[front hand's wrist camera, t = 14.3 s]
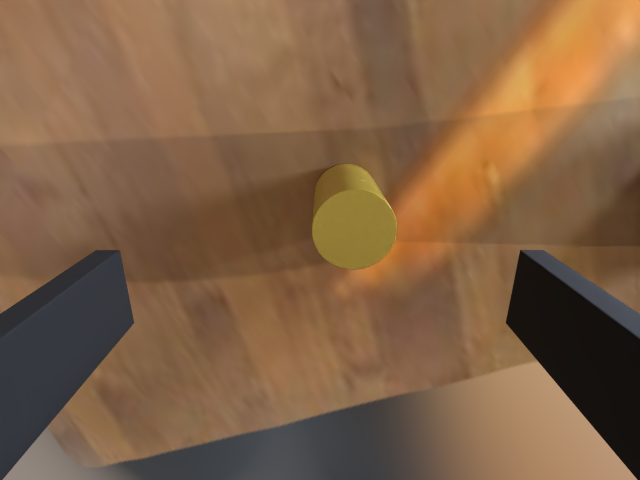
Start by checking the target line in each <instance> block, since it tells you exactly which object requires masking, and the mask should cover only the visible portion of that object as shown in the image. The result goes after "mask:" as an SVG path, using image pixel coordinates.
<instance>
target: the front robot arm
mask: <svg viewBox="0 0 640 480" xmlns="http://www.w3.org/2000/svg"><path fill="white" fill-rule="evenodd" d="M133 324H134V320H133V315H132V310H131V305H130V300H129V295H128V290H127V285H126V280H125V275H124V269H123V264H122V259H121V254H120V250H96V251H94V252H93V253H91V254H90V255H88V256H87V257H85V258H84V259H82V260H81V261H79V262H78V263H76V264H75V265H73V266H72V267H70V268H69V269H67V270H66V271H64V272H63V273H61V274H60V275H58V276H57V277H55V278H54V279H52V280H51V281H49V282H48V283H46V284H45V285H43V286H42V287H40V288H39V289H37V290H36V291H34V292H33V293H31V294H30V295H28V296H27V297H25V298H24V299H22V300H21V301H19V302H18V303H16V304H15V305H13V306H12V307H10V308H9V309H7V310H6V311H4V312H3V313H1V314H0V480H2V479H3V478H4V477H5V476H6V475H7V474H8V472H9V471H10V470H11V469H12V468H13V466H14V465H15V464H16V463H17V462H18V460H19V459H20V458H21V457H22V456H23V454H24V453H25V452H26V451H27V450H28V449H29V447H30V446H31V445H32V444H33V443H34V441H35V440H36V439H37V438H38V437H39V435H40V434H41V433H42V432H43V431H44V429H45V428H46V427H47V426H48V425H49V424H50V422H51V421H52V420H53V419H54V418H55V416H56V415H57V414H58V413H59V412H60V410H61V409H62V408H63V407H64V406H65V404H66V403H67V402H68V401H69V400H70V399H71V397H72V396H73V395H74V394H75V393H76V391H77V390H78V389H79V388H80V387H81V385H82V384H83V383H84V382H85V381H86V379H87V378H88V377H89V376H90V375H91V374H92V372H93V371H94V370H95V369H96V368H97V366H98V365H99V364H100V363H101V362H102V360H103V359H104V358H105V357H106V356H107V354H108V353H109V352H110V351H111V350H112V349H113V347H114V346H115V345H116V344H117V343H118V341H119V340H120V339H121V338H122V337H123V335H124V334H125V333H126V332H127V331H128V329H129V328H130V327H131V326H132V325H133ZM506 324H507V325H508V326H509V327H510V328H511V329H512V331H513V332H514V333H515V334H516V335H517V337H518V338H519V339H520V340H521V341H522V343H523V344H524V345H525V346H526V347H527V349H528V350H529V351H530V352H531V353H532V354H533V356H534V357H535V358H536V359H537V360H538V362H539V363H540V364H541V365H542V366H543V368H544V369H545V370H546V371H547V372H548V374H549V375H550V376H551V377H552V378H553V379H554V381H555V382H556V383H557V384H558V385H559V387H560V388H561V389H562V390H563V391H564V393H565V394H566V395H567V396H568V397H569V398H570V400H571V401H572V402H573V403H574V404H575V406H576V407H577V408H578V409H579V410H580V412H581V413H582V414H583V415H584V416H585V418H586V419H587V420H588V421H589V422H590V423H591V425H592V426H593V427H594V428H595V429H596V431H597V432H598V433H599V434H600V435H601V437H602V438H603V439H604V440H605V441H606V443H607V444H608V445H609V446H610V447H611V449H612V450H613V451H614V452H615V453H616V455H617V456H618V457H619V458H620V459H621V460H622V462H623V463H624V464H625V465H626V466H627V468H628V469H629V470H630V471H631V472H632V474H633V475H634V476H635V477H636V478H637V480H640V314H639V313H637V312H636V311H634V310H633V309H631V308H630V307H628V306H627V305H625V304H624V303H622V302H621V301H619V300H618V299H616V298H615V297H613V296H612V295H610V294H609V293H607V292H606V291H604V290H603V289H601V288H600V287H598V286H597V285H595V284H594V283H592V282H591V281H589V280H588V279H586V278H585V277H583V276H582V275H580V274H579V273H577V272H576V271H574V270H573V269H571V268H570V267H568V266H567V265H565V264H564V263H562V262H561V261H559V260H558V259H556V258H555V257H553V256H552V255H550V254H549V253H547V252H546V251H544V250H520V254H519V259H518V264H517V269H516V275H515V280H514V285H513V290H512V295H511V300H510V305H509V310H508V315H507V320H506Z"/></svg>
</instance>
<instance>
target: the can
mask: <svg viewBox="0 0 640 480" xmlns="http://www.w3.org/2000/svg"><path fill="white" fill-rule="evenodd" d="M396 234H397V222H396V218H395V215H394V212H393V210H392V209H391V207H390V205H389V204H388V202H387V201H386V199H385V197H384V196H383V194H382V193H381V191H380V189H379V188H378V186H377V185H376V183H375V182H374V180H373V178H372V177H371V176H370V174H369V173H368V172H367V171H366V170H364V169H363V168H361V167H359V166H356V165H353V164H340V165H336V166H334V167H331V168H330V169H328V170H327V171H325V172H324V173H323V174H322V175H321V177H320V178H319V180H318V182H317V184H316V187H315V193H314V207H313V221H312V237H313V241H314V244H315V247H316V248H317V250H318V252H319V253H320V254H321V256H322V257H323V258H324V259H326V260H327V261H328V262H330V263H331V264H333V265H335V266H337V267H340V268H344V269H362V268H366V267H369V266H371V265H374V264H375V263H377V262H379V261H380V260H381V259H383V258H384V257H385V256H386V255H387V253H388V252H389V251H390V249H391V248H392V246H393V244H394V242H395V238H396Z"/></svg>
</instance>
